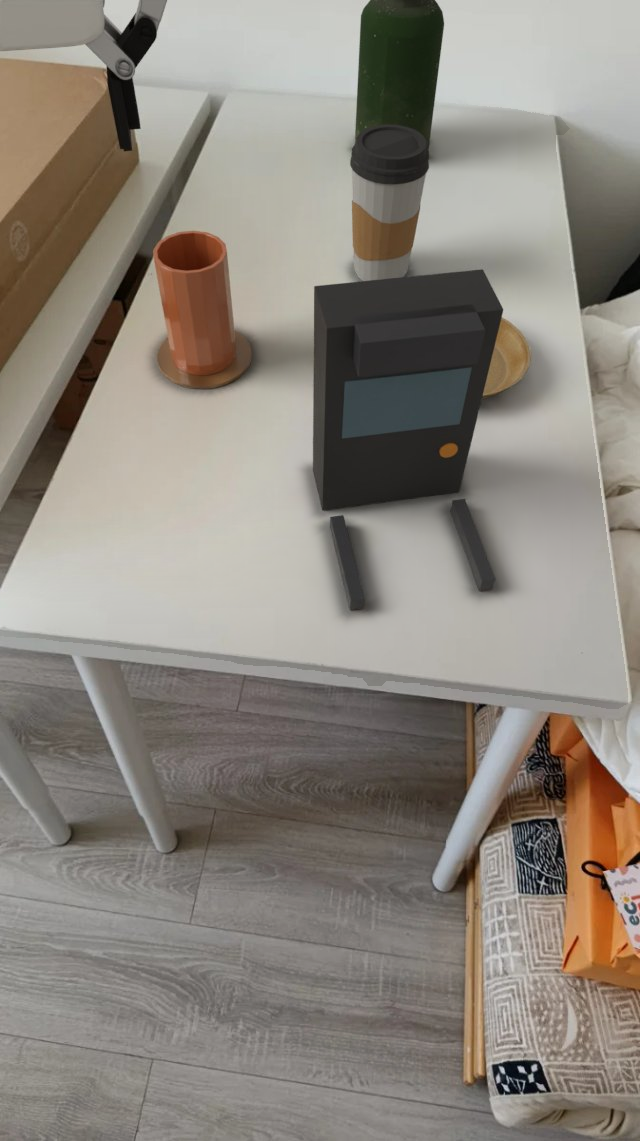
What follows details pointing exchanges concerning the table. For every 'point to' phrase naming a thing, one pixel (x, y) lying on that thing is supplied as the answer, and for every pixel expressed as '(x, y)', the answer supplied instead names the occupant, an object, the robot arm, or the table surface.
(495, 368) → the plant saucer
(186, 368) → the orange tube
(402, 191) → the coffee cup
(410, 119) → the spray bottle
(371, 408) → the black box with legs
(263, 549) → the table surface
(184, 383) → the coaster
